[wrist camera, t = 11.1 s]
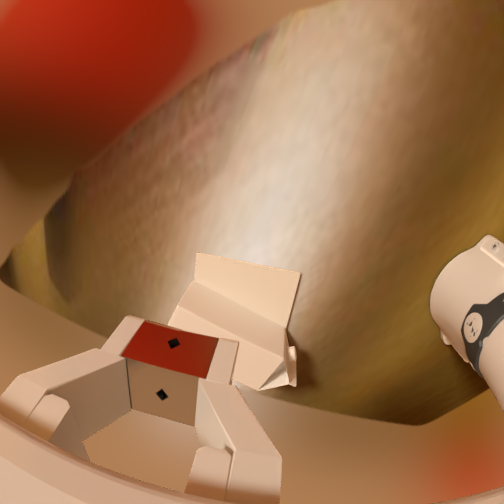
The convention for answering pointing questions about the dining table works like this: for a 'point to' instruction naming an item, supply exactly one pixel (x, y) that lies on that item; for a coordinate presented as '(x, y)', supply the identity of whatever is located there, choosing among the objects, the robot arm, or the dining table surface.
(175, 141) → the dining table surface
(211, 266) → the mat
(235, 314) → the milk carton
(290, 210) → the dining table surface
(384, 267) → the dining table surface
